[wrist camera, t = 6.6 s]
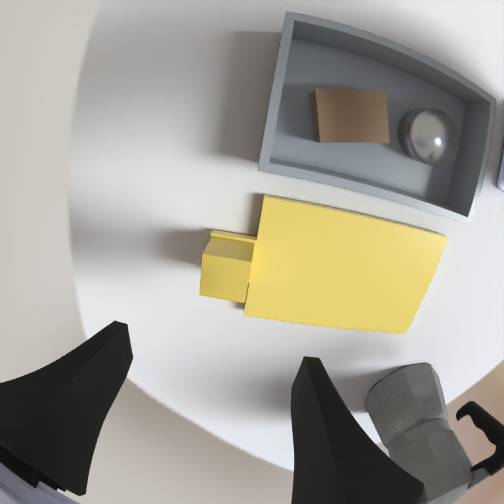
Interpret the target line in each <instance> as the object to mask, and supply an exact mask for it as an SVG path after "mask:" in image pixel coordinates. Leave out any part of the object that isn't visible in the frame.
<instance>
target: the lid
mask: <svg viewBox="0 0 504 504" xmlns="http://www.w3.org/2000/svg"><path fill="white" fill-rule="evenodd" d="M447 239H448V237H446V236H445V235H443V234H439V233H436V232H432V231H429V230H425V229H421V228H417V227H414V226H410V225H406V224H402V223H398V222H394V221H390V220H386V219H381V218H377V217H373V216H369V215H364V214H360V213H355V212H351V211H346V210H342V209H337V208H332V207H327V206H322V205H317V204H312V203H307V202H302V201H297V200H291V199H286V198H280V197H274V196H269V195H264V199H263V205H262V211H261V217H260V223H259V229H258V235H257V237H254V236H248V235H242V234H236V233H230V232H223V231H217V230H212V232H211V236H210V241H209V243H208V244H207V246H206V248H205V250H204V252H203V254H202V266H201V279H200V294H199V295H201V296H207V297H212V298H218V299H224V300H229V301H235V302H241V303H245V299H246V304H245V310H244V316H250V317H256V318H262V319H269V320H276V321H283V322H290V323H298V324H306V325H314V326H323V327H332V328H341V329H351V330H362V331H374V332H387V333H403V334H406V332H407V330H408V328H409V326H410V324H411V322H412V320H413V318H414V316H415V314H416V312H417V310H418V308H419V306H420V304H421V302H422V300H423V298H424V296H425V294H426V291H427V289H428V287H429V285H430V282H431V280H432V278H433V275H434V273H435V270H436V268H437V266H438V263H439V261H440V258H441V255H442V253H443V250H444V247H445V245H446V242H447ZM248 283H249V287H248ZM247 288H248V293H247ZM246 293H247V298H246Z"/></svg>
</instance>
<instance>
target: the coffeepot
mask: <svg viewBox="0 0 504 504" xmlns="http://www.w3.org/2000/svg"><path fill="white" fill-rule="evenodd" d="M365 407H366V409H367V411H368V413H369V416H370V418H371V420H372V422H373V424H374V426H375V428H376V430H377V432H378V434H379V436H380V438H381V441H382V443H383V445H384V446H385V447H386V448H387V449H388V452H389V455H390V459H391V460H392V461H394V462H395V463H396V464H397V465H399V466H400V467H401V468H402V469H403V470H405V471H406V472H408V473H409V474H411V475H412V476H414V477H415V478H417V479H418V480H420V481H421V482H423V483H424V486H425V490H426V494H427V499H428V503H427V504H452V503H454V502H455V501H457V500H458V499H459V498H461V497H462V496H463V495H464V494H465V493H467V492H468V491H469V490H470V489H471V488H473V487H474V486H475V485H477V484H478V483H480V482H482V481H483V480H485V479H486V478H488V477H489V476H492V475H493V474H495V473H497V472H498V471H499V470H501V469H502V468H503V467H504V425H502V424H501V423H500V422H499V421H498V420H496V419H495V418H494V417H493V416H491V415H490V414H489V413H488V412H486V411H485V410H484V409H483V408H482V407H480V406H479V405H478V404H477V403H475V402H474V401H469V402H468V403H466V404H465V405H464V406H462V407H461V408H460V409H459V410H458V411H457V414H456V418H457V421H458V420H460V419H461V418H462V417H464V416H466V415H470V417H471V418H472V421H473V423H474V424H475V426H476V427H477V428H480V429H481V430H482V431H483V432H484V433H485V434H486V436H487V438H488V439H489V441H490V442H491V443H493V444H495V445H496V450H495V453H494V454H493V455H492V456H490V457H489V458H487V459H485V460H483V461H481V462H480V463H478V464H476V465H473V463H472V461H471V460H470V458H469V456H468V454H467V453H466V451H465V449H464V447H463V446H462V444H461V443H460V441H459V439H458V438H457V436H456V434H455V433H454V432H453V430H451V429H450V426H449V424H448V419H449V418H448V414H447V409H446V404H445V400H444V395H443V391H442V387H441V384H440V380H439V376H438V375H437V373H436V372H435V370H434V369H433V367H432V366H431V364H414V365H409V366H406V367H403V368H401V369H398V370H396V371H394V372H392V373H391V374H389V375H387V376H386V377H384V378H383V379H382V380H380V381H379V382H378V383H377V384H376V385H375V386H374V387H373V388H372V389H371V391H370V393H369V394H368V397H367V401H366V403H365Z"/></svg>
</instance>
